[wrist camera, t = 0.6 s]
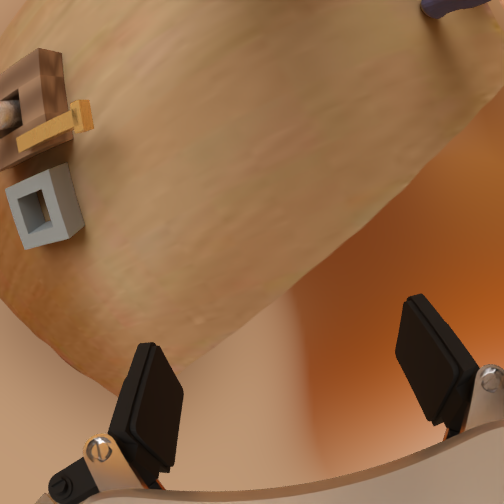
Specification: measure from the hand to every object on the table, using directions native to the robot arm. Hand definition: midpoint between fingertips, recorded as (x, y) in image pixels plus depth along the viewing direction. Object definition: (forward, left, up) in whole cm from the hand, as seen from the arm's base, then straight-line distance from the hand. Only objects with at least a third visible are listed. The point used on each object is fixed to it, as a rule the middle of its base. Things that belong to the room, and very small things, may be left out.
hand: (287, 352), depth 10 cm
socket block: (-18, -31, -30) cm, 47 cm away
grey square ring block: (-3, -31, -30) cm, 43 cm away
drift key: (-13, -22, -24) cm, 35 cm away
